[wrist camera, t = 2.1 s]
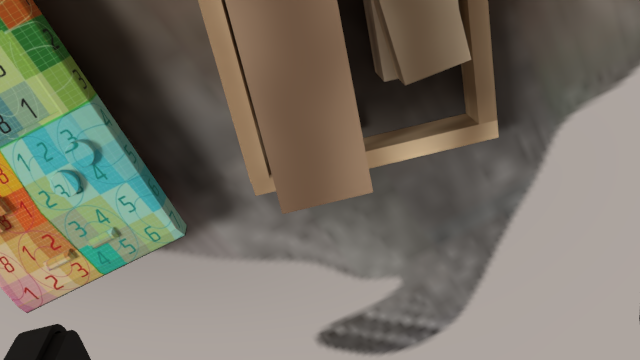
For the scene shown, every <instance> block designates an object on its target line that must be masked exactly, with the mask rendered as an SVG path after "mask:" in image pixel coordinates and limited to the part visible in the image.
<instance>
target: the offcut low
mask: <svg viewBox="0 0 640 360" xmlns="http://www.w3.org/2000/svg"><path fill="white" fill-rule="evenodd" d="M363 3H364V9H365V15H366V21H367V27H368V33H369V39H370V45H371V50H372V56H373V62H374V68H375V72H376V73H377V74H378V76H379V77H380V78H381V79H382V80H383V81H384V82H386V81H390V80H395V79H398V78H397V76H396V73H395V70H394V66H393V63H392V60H391V57H390V54H389V50H388V47H387V44H386V41H385V37H384V34H383V31H382V28H381V25H380V21H379V18H378V15H377V12H376V9H375V5H374V2H373V0H363ZM457 4H458V0H457ZM458 8H459V5H458Z"/></svg>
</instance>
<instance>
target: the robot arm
mask: <svg viewBox="0 0 640 360" xmlns="http://www.w3.org/2000/svg"><path fill="white" fill-rule="evenodd" d="M639 319H640V318H639ZM4 360H91V359H90V357H89V355H88V353H87V351H86V349H85V347H84V345H83V343H82V341H81V339H80V337H79V335H78V334H77V332H75V331H73V330H70V331H66V329H65V328H64V327H63V326H62V325H59V324H55V325H51V326H47V327H43V328H39V329H35V330H30V331H26V332H23V333H21V334H19V335H18V336H17V337H16V339H15V340H14V342H13V344H12V346H11V347H10V349H9V351H8V353H7V355H6V356H5V358H4Z"/></svg>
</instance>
